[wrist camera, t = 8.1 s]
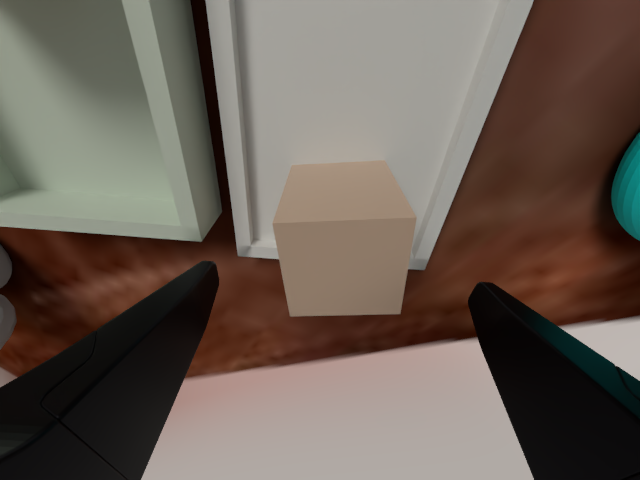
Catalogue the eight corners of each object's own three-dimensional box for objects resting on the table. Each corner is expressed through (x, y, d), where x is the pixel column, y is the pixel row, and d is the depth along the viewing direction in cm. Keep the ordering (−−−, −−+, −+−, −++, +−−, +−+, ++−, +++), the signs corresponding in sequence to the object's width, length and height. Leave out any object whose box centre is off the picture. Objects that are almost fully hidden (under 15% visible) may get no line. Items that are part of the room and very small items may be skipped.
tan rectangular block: (384, 160, 13) (416, 217, 8) (378, 237, 15) (400, 314, 11) (291, 165, 13) (272, 223, 8) (301, 240, 15) (290, 316, 11)
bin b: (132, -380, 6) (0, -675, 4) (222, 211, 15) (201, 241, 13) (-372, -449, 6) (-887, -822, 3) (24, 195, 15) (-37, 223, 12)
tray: (583, -184, 7) (623, -221, 6) (418, 257, 17) (424, 270, 16) (191, -233, 7) (170, -278, 6) (243, 244, 16) (237, 255, 15)
